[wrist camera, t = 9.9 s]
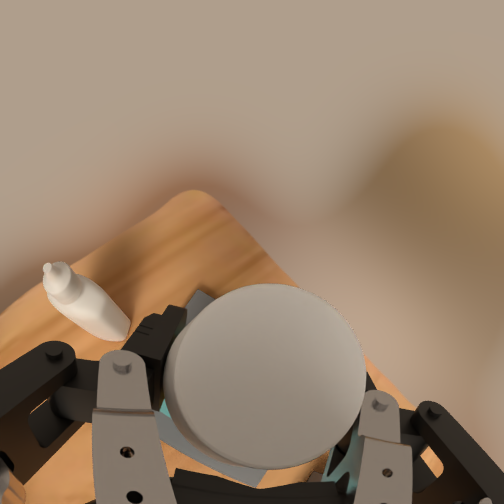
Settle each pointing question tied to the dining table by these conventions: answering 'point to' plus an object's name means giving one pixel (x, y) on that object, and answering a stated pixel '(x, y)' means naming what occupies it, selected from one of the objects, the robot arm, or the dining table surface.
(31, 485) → the dining table surface
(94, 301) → the eye dropper bottle
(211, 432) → the supplement bottle
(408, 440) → the robot arm
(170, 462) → the dining table surface
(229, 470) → the port
